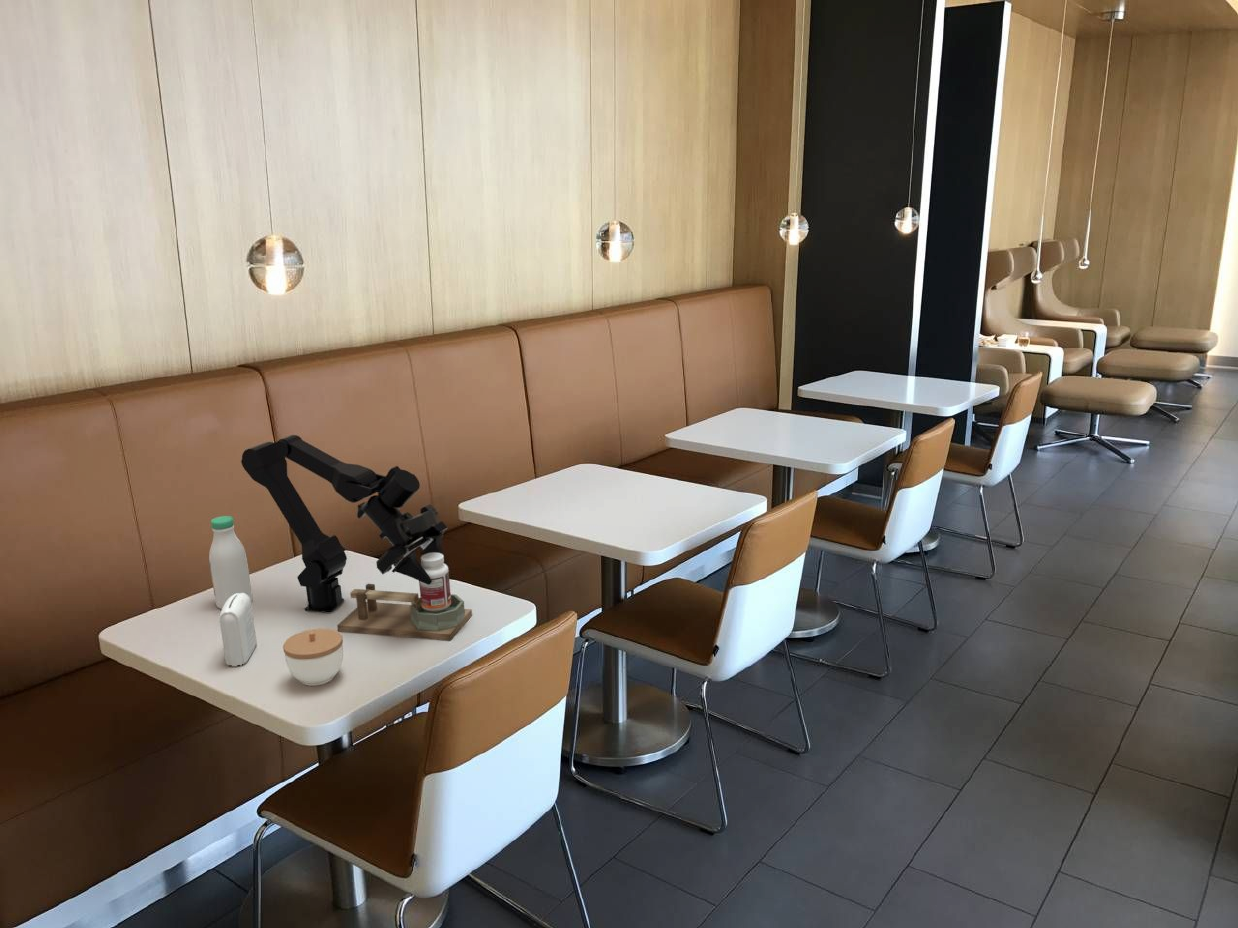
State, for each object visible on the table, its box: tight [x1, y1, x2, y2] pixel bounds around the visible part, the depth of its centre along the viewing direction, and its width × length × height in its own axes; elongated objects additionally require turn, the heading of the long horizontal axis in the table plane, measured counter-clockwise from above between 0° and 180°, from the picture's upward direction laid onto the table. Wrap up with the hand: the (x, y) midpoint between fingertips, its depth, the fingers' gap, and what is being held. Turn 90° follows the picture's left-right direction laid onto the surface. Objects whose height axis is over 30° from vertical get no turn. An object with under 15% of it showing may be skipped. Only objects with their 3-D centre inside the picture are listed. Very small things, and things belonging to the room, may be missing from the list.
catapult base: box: [336, 583, 473, 642], centre depth 215 cm, size 25×12×7 cm, turn 77°
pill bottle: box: [418, 553, 452, 611], centre depth 212 cm, size 6×6×11 cm
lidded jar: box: [282, 628, 344, 687], centre depth 193 cm, size 11×11×9 cm
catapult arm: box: [349, 588, 466, 631], centre depth 215 cm, size 24×10×5 cm, turn 77°
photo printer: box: [219, 593, 257, 667], centre depth 203 cm, size 10×4×12 cm, turn 5°
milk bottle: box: [208, 515, 253, 610], centre depth 226 cm, size 8×8×20 cm
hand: (439, 577), depth 211 cm, fingers closed on pill bottle, 6 cm apart
